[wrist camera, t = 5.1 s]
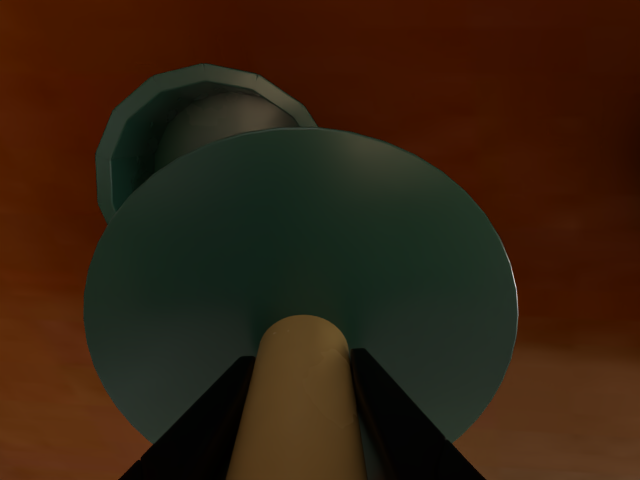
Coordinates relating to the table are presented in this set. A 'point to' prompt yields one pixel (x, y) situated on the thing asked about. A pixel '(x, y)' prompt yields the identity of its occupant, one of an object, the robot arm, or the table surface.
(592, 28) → the table surface
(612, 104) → the table surface
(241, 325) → the pan lid
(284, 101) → the pan
